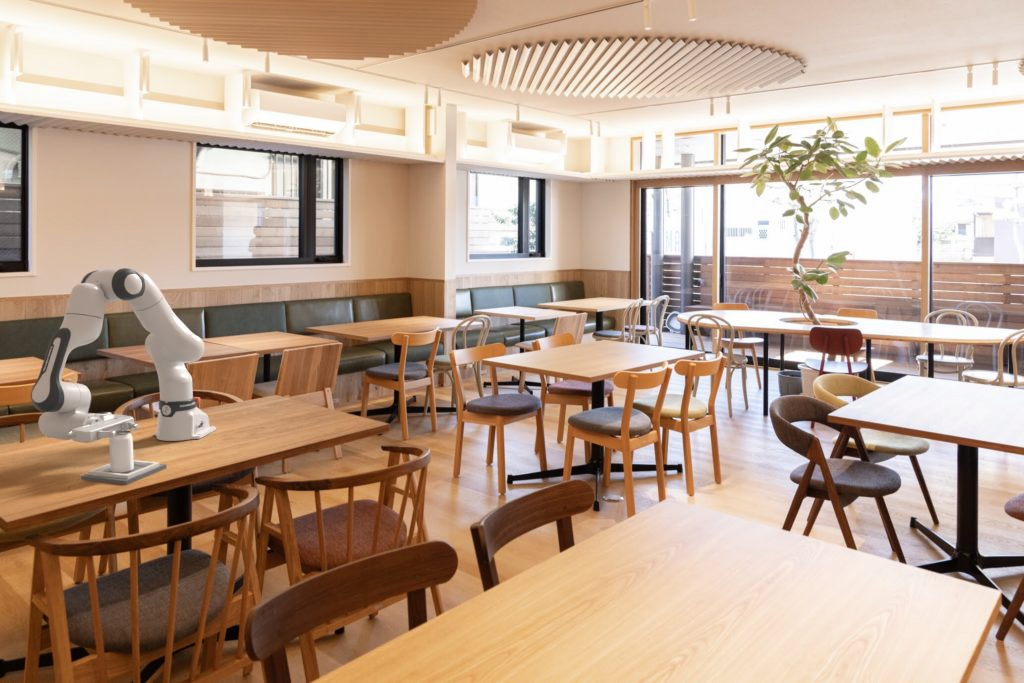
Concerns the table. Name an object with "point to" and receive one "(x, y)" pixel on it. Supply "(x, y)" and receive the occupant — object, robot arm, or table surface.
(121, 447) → the can
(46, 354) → the robot arm
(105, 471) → the grey rimmed tray
